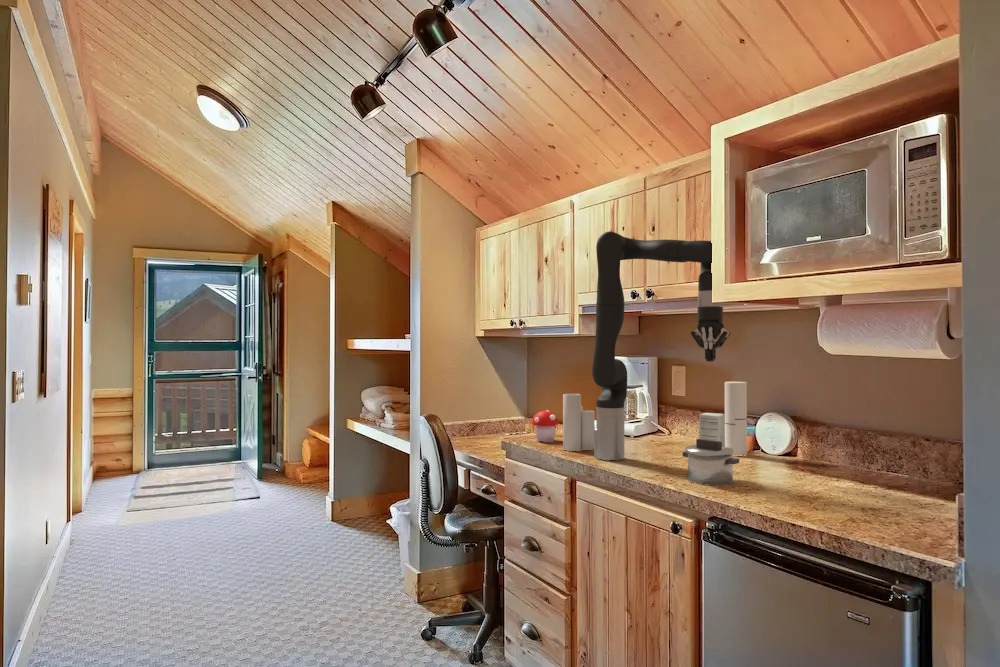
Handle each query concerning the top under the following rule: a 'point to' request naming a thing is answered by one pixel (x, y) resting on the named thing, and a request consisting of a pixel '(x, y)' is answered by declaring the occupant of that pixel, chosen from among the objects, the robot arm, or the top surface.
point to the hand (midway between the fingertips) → (710, 361)
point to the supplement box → (712, 427)
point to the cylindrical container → (736, 417)
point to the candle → (577, 424)
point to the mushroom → (545, 425)
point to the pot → (710, 469)
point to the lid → (708, 448)
